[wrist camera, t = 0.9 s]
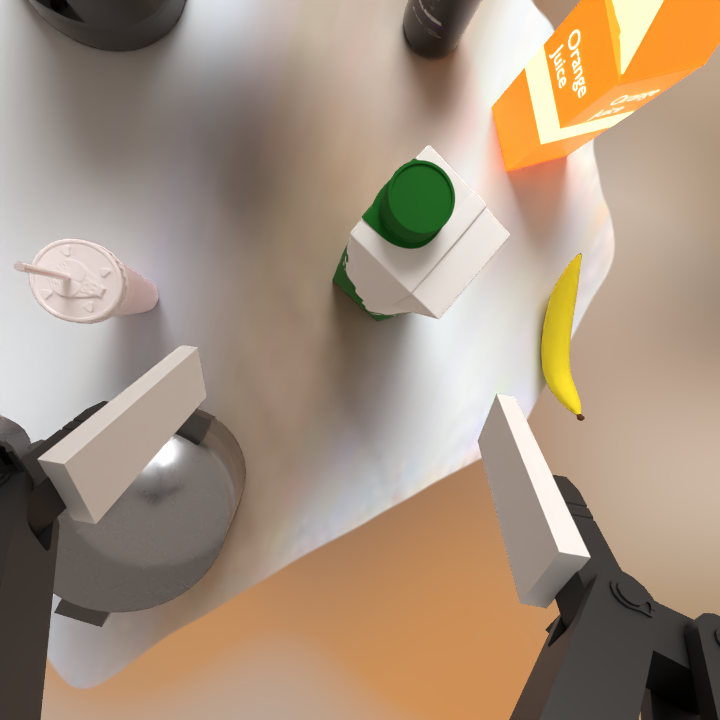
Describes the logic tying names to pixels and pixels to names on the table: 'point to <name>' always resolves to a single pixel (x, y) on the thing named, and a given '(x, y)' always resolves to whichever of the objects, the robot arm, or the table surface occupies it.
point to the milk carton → (418, 242)
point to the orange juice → (601, 73)
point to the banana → (561, 338)
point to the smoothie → (86, 283)
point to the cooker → (153, 527)
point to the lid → (15, 436)
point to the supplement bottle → (437, 24)
